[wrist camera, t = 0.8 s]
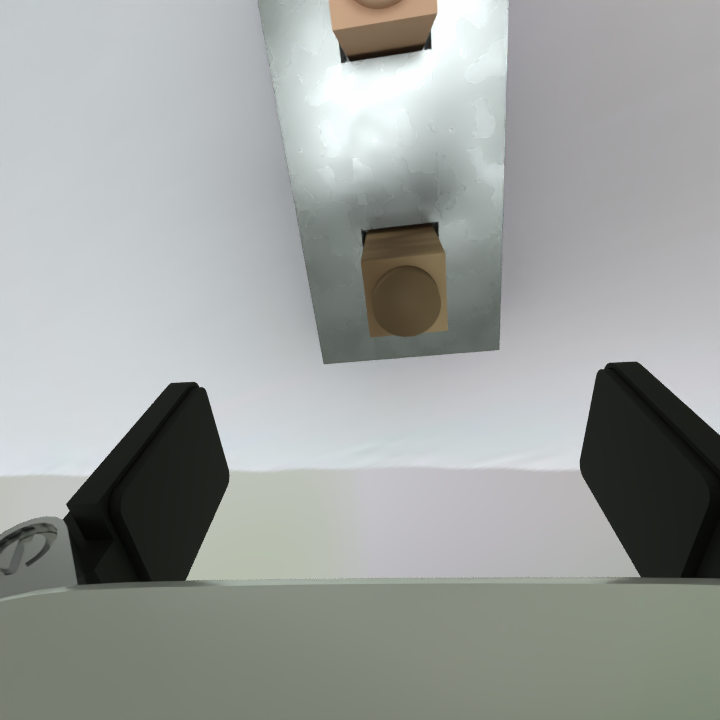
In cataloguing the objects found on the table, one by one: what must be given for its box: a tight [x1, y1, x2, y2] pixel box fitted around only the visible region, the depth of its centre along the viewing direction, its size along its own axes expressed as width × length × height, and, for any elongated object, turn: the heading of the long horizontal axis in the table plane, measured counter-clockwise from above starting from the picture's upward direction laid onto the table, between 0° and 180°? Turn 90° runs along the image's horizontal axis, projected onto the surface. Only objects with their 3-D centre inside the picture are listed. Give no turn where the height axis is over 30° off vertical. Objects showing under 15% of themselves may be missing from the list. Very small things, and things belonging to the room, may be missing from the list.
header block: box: [258, 0, 509, 364], centre depth 26 cm, size 12×26×5 cm, turn 7°
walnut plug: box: [361, 223, 448, 337], centre depth 25 cm, size 4×4×11 cm
